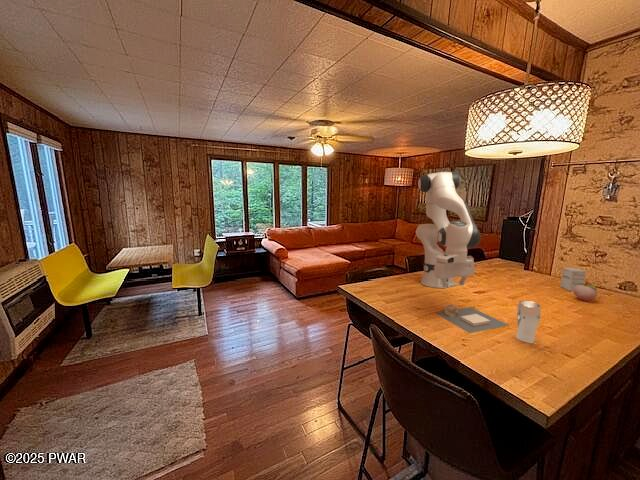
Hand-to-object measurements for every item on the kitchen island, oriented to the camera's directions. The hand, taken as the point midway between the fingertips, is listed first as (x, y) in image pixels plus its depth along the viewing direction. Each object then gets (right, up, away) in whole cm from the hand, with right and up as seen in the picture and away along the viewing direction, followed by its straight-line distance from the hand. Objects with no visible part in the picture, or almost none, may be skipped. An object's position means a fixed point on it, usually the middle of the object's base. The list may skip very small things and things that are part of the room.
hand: (453, 285), depth 121 cm
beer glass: (+18, -18, -19) cm, 32 cm away
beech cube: (0, -14, +2) cm, 14 cm away
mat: (+7, -15, -2) cm, 17 cm away
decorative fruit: (+81, -12, +19) cm, 84 cm away
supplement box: (+91, -9, +37) cm, 98 cm away
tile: (+11, -14, -4) cm, 19 cm away
